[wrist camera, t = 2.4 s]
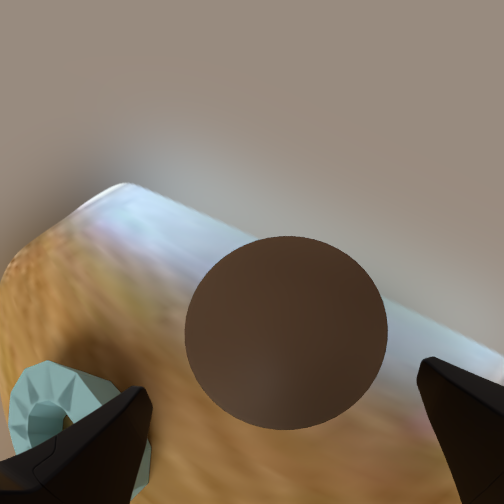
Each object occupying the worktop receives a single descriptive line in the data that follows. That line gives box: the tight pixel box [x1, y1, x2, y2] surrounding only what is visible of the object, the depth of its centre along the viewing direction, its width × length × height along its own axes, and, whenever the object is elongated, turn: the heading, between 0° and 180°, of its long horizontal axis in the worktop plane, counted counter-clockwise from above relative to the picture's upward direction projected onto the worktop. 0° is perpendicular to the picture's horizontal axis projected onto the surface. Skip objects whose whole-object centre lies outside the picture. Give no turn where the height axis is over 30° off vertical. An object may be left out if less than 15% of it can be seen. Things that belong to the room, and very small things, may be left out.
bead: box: [8, 360, 151, 501], centre depth 12 cm, size 11×11×4 cm
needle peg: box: [185, 236, 388, 430], centre depth 10 cm, size 4×4×13 cm
